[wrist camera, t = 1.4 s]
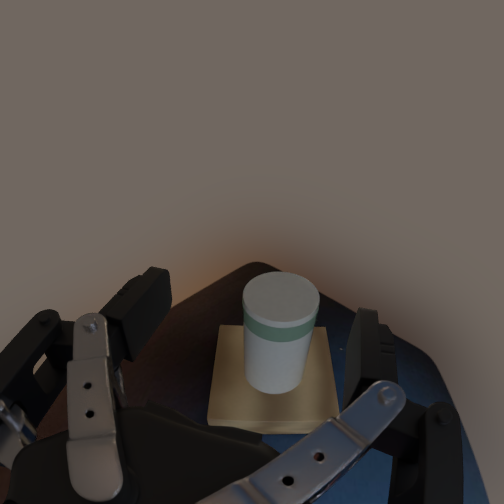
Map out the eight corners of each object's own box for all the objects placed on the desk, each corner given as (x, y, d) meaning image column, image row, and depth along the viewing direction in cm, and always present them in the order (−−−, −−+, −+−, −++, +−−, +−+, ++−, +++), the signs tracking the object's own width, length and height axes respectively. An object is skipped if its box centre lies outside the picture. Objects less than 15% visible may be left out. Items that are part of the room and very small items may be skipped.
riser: (321, 343, 37) (325, 326, 35) (333, 432, 27) (340, 419, 25) (221, 341, 37) (219, 324, 35) (210, 431, 27) (206, 418, 25)
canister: (302, 346, 33) (315, 271, 27) (306, 394, 28) (325, 322, 22) (244, 345, 33) (244, 270, 27) (241, 393, 28) (239, 321, 22)
